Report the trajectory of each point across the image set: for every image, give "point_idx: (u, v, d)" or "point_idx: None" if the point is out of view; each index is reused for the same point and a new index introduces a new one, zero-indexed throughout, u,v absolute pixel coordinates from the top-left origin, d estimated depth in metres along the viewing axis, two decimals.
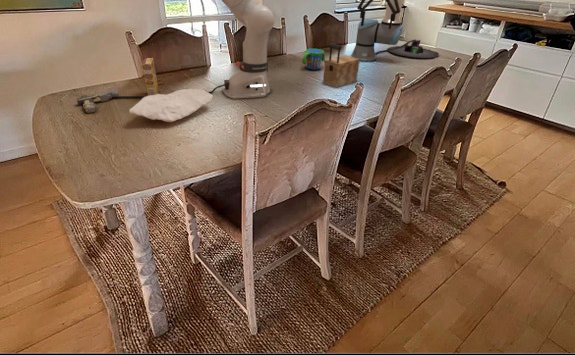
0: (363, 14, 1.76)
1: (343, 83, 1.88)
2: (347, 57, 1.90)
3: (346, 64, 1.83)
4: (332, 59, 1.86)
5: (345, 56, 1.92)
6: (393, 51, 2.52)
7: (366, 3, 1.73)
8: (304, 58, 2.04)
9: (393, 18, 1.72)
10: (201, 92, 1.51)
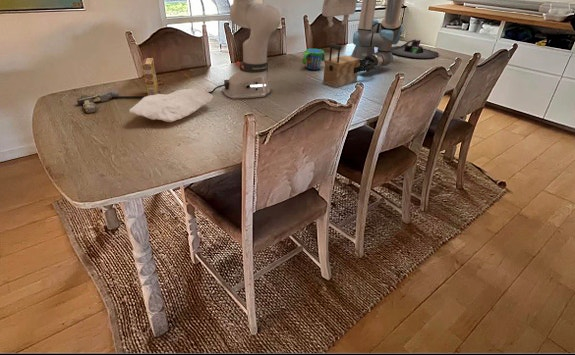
0: None
1: (343, 83, 1.88)
2: (347, 57, 1.90)
3: (346, 64, 1.83)
4: (332, 59, 1.86)
5: (345, 56, 1.92)
6: (393, 51, 2.52)
7: None
8: (304, 58, 2.04)
9: None
10: (201, 92, 1.51)
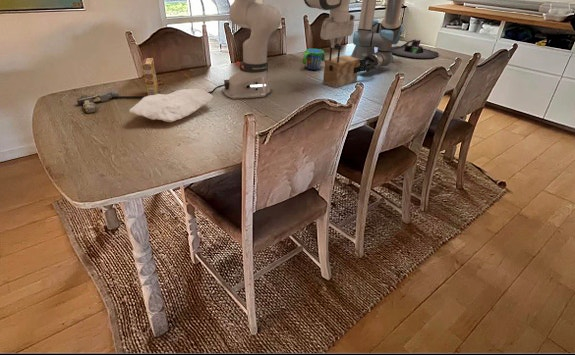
0: None
1: (343, 83, 1.88)
2: (347, 57, 1.90)
3: (346, 64, 1.83)
4: (332, 59, 1.86)
5: (345, 56, 1.92)
6: (393, 51, 2.52)
7: None
8: (304, 58, 2.04)
9: None
10: (201, 92, 1.51)
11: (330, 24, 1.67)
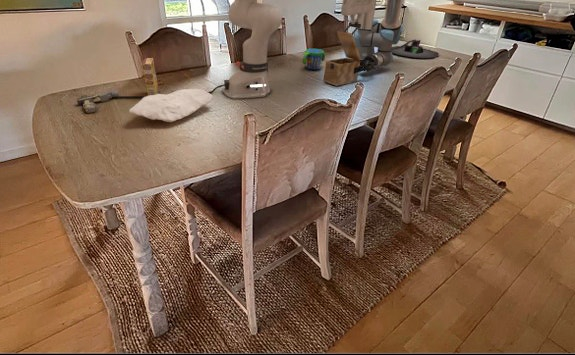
0: (360, 71, 1.93)
1: (343, 82, 1.88)
2: None
3: (354, 45, 1.81)
4: None
5: None
6: (393, 51, 2.52)
7: None
8: (304, 58, 2.04)
9: None
10: (201, 92, 1.51)
11: (351, 0, 1.70)
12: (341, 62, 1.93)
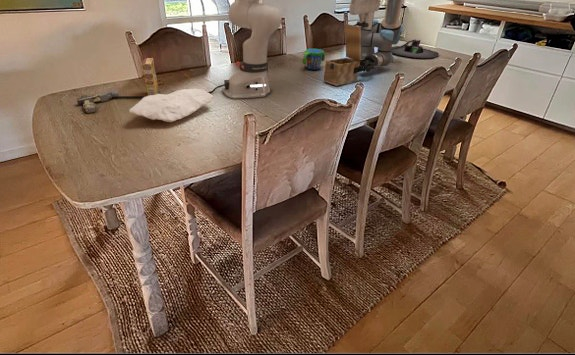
0: (360, 71, 1.93)
1: (343, 82, 1.88)
2: None
3: (359, 40, 1.82)
4: None
5: None
6: (393, 51, 2.52)
7: None
8: (304, 58, 2.04)
9: None
10: (201, 92, 1.51)
11: None
12: (341, 62, 1.93)
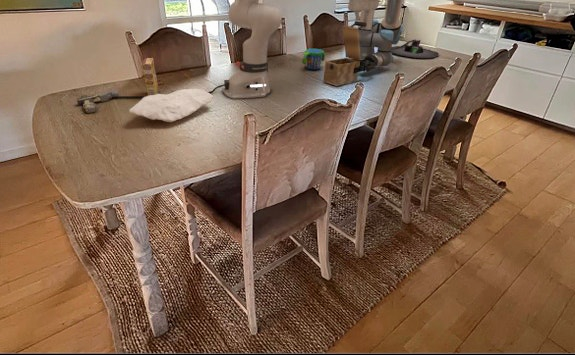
0: (359, 71, 1.93)
1: (343, 82, 1.88)
2: None
3: (357, 41, 1.82)
4: None
5: None
6: (393, 51, 2.52)
7: None
8: (304, 58, 2.04)
9: None
10: (201, 92, 1.51)
11: None
12: (341, 62, 1.93)
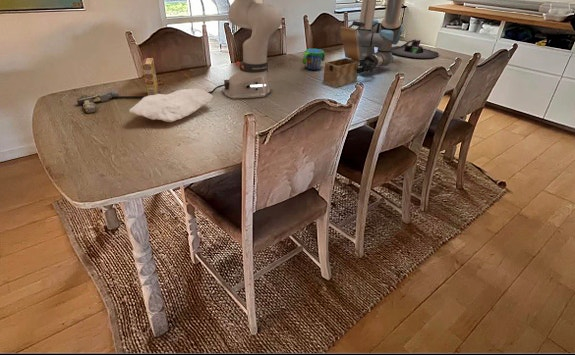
0: None
1: (343, 83, 1.88)
2: None
3: (356, 42, 1.81)
4: None
5: None
6: (393, 51, 2.52)
7: None
8: (304, 58, 2.04)
9: None
10: (201, 92, 1.51)
11: None
12: (340, 63, 1.93)
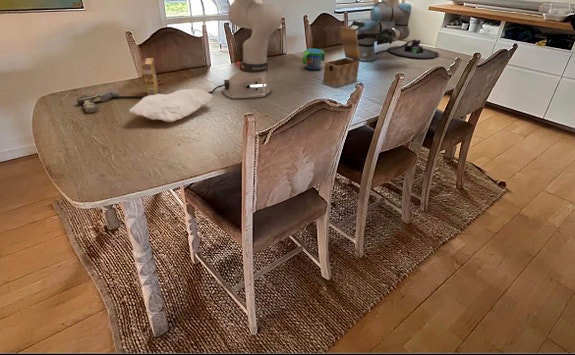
0: (382, 43, 1.93)
1: (343, 83, 1.88)
2: None
3: (356, 42, 1.81)
4: None
5: None
6: (393, 51, 2.52)
7: None
8: (304, 58, 2.04)
9: None
10: (201, 92, 1.51)
11: None
12: (340, 63, 1.93)
